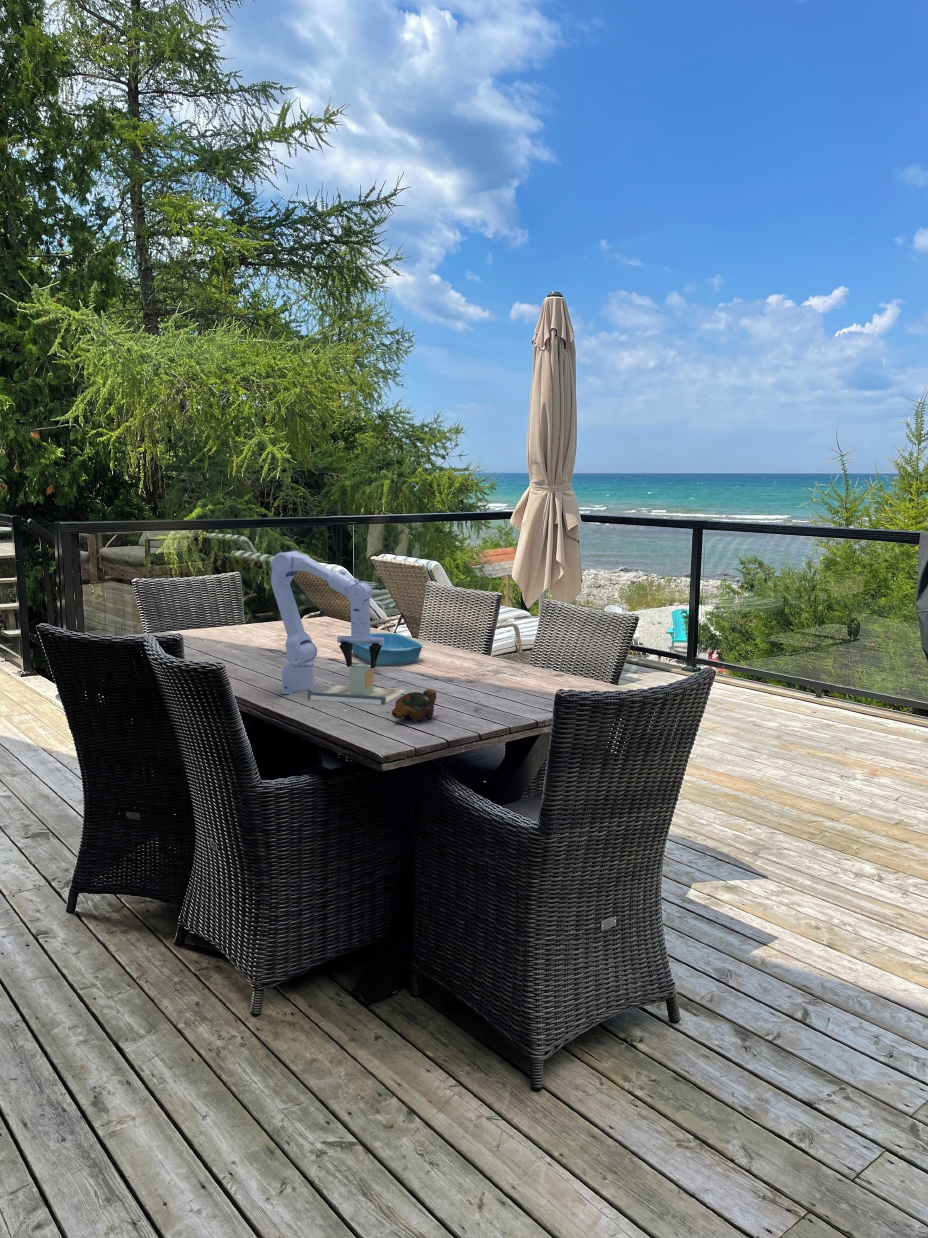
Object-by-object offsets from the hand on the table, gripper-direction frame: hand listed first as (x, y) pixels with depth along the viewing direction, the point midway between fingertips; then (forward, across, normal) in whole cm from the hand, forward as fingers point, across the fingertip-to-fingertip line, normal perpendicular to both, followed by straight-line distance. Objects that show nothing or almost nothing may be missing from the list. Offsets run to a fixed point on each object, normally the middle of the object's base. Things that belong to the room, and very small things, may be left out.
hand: (361, 667), depth 275 cm
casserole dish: (+10, -15, +62) cm, 65 cm away
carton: (+8, 0, 0) cm, 8 cm away
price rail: (+9, 0, -12) cm, 15 cm away
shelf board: (+9, 0, -2) cm, 10 cm away
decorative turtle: (+10, +24, -21) cm, 33 cm away
